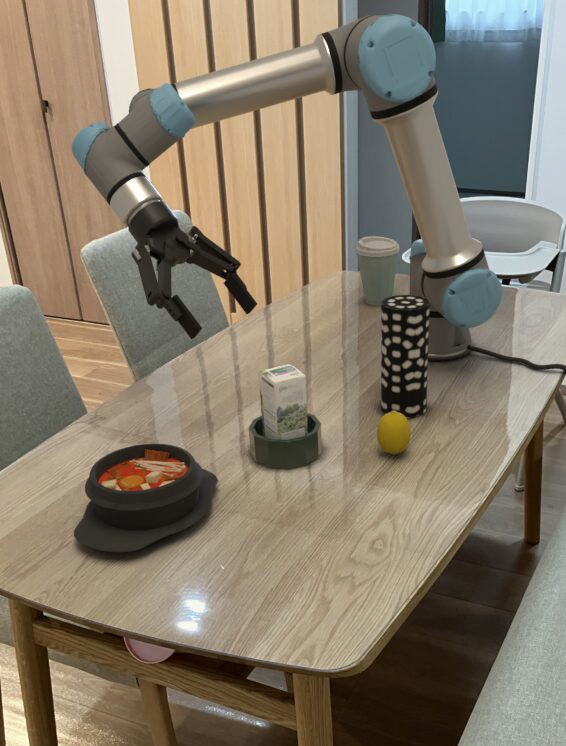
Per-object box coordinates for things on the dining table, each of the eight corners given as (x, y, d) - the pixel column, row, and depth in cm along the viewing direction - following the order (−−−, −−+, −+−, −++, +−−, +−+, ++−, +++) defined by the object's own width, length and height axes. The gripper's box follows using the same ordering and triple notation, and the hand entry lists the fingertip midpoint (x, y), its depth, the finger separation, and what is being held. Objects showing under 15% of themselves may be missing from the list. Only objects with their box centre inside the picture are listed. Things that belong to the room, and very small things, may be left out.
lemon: (387, 465, 134) (388, 421, 130) (371, 452, 139) (370, 408, 134) (416, 457, 136) (417, 413, 132) (399, 444, 141) (399, 401, 136)
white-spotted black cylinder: (432, 403, 154) (436, 297, 143) (417, 421, 148) (420, 312, 137) (390, 396, 157) (391, 292, 147) (374, 414, 151) (373, 307, 140)
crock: (326, 438, 143) (325, 411, 141) (314, 470, 134) (312, 443, 131) (261, 434, 145) (259, 408, 142) (244, 466, 135) (241, 439, 133)
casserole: (148, 466, 136) (141, 420, 132) (246, 488, 130) (242, 440, 125) (45, 546, 117) (31, 495, 113) (153, 576, 110) (144, 523, 106)
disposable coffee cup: (405, 297, 207) (406, 236, 199) (390, 311, 199) (390, 247, 191) (366, 293, 211) (365, 233, 203) (349, 306, 203) (348, 244, 195)
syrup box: (293, 440, 143) (288, 361, 135) (310, 454, 138) (306, 373, 131) (263, 449, 140) (256, 369, 133) (279, 463, 136) (273, 381, 128)
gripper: (188, 214, 144) (262, 312, 145) (77, 247, 127) (161, 358, 127) (208, 185, 139) (284, 287, 139) (94, 215, 121) (182, 331, 122)
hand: (225, 321), depth 133 cm, fingers open, 13 cm apart
